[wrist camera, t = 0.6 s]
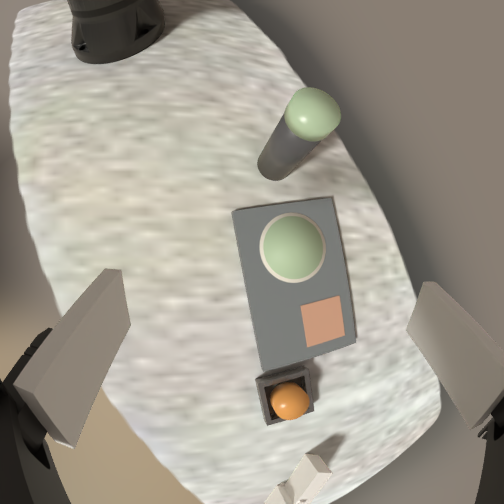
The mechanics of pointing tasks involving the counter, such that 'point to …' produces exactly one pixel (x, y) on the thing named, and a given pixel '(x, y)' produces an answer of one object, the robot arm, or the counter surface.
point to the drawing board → (294, 280)
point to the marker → (298, 132)
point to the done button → (289, 400)
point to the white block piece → (302, 482)
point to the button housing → (279, 378)
